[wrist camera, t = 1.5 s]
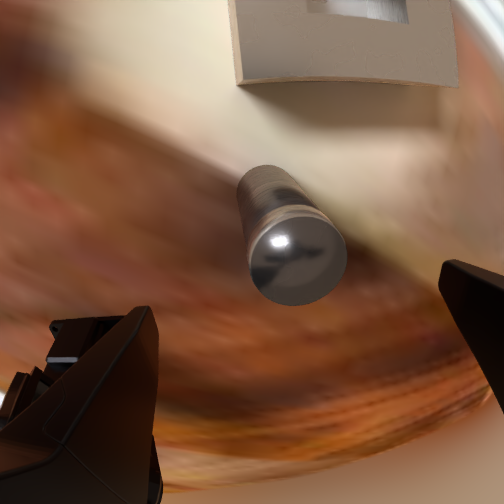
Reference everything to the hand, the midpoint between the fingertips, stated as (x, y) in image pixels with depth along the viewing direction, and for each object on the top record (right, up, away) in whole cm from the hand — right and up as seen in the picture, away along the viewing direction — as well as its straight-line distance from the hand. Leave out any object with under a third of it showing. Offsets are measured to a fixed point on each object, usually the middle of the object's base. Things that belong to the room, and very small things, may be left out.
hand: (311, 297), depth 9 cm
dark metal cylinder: (-1, +4, +9) cm, 10 cm away
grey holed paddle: (+2, +19, +1) cm, 19 cm away
